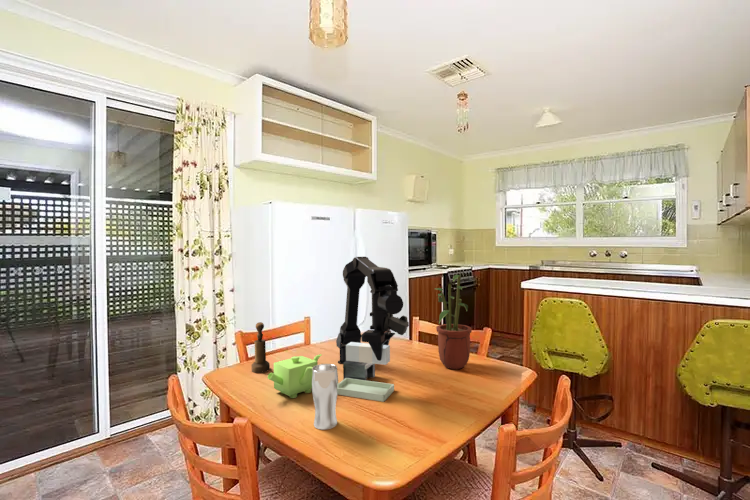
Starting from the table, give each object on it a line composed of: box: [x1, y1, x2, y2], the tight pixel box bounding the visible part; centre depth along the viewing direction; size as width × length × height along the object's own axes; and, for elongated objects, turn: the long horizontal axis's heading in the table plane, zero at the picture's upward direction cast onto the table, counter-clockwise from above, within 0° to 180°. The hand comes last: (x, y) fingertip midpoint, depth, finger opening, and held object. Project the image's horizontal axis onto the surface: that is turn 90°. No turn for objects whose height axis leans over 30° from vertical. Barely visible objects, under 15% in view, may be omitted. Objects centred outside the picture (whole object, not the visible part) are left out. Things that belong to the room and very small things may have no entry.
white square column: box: [346, 342, 391, 366], centre depth 121 cm, size 14×4×5 cm, turn 69°
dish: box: [337, 378, 395, 403], centre depth 121 cm, size 17×9×2 cm, turn 68°
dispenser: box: [342, 361, 376, 381], centre depth 132 cm, size 9×9×7 cm
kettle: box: [267, 353, 323, 399], centre depth 122 cm, size 15×14×11 cm
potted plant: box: [434, 274, 473, 370], centre depth 145 cm, size 17×16×35 cm
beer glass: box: [311, 363, 339, 431], centre depth 100 cm, size 7×7×15 cm
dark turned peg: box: [251, 321, 271, 374], centre depth 143 cm, size 7×6×18 cm
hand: (381, 358), depth 119 cm, fingers closed on white square column, 4 cm apart
